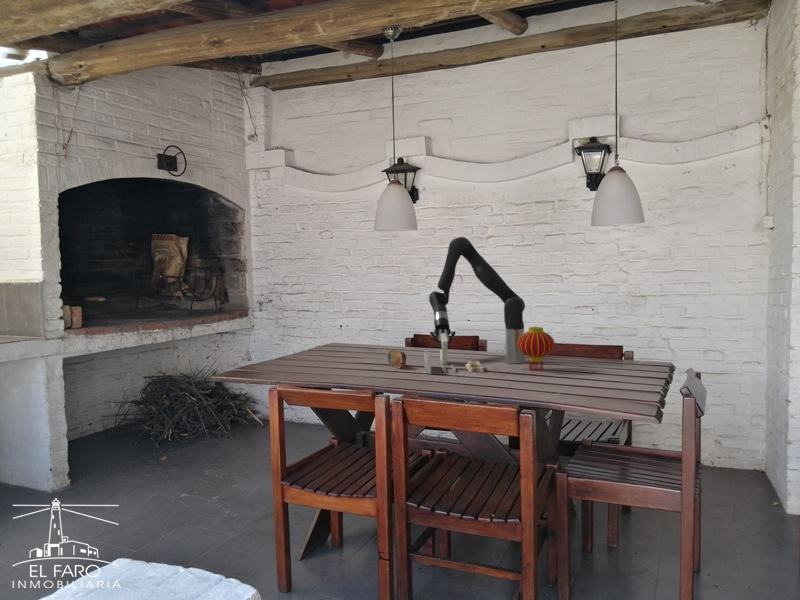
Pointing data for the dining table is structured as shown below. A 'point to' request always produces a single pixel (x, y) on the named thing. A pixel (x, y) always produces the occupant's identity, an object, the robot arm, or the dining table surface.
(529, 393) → the dining table surface
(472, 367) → the offcuts
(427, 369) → the rack
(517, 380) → the dining table surface
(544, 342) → the lantern
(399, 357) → the tin
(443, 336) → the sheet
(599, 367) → the dining table surface
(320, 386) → the dining table surface
